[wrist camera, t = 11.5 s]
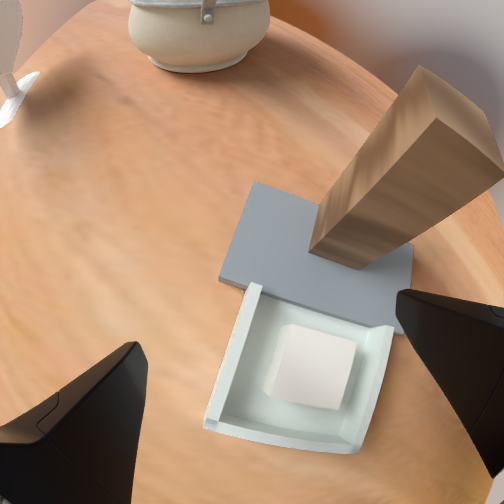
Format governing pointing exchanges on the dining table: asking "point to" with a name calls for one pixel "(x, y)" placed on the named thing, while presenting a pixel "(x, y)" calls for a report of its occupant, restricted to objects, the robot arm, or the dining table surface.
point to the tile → (309, 367)
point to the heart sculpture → (11, 59)
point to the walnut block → (408, 174)
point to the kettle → (197, 32)
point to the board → (310, 264)
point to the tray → (285, 412)
